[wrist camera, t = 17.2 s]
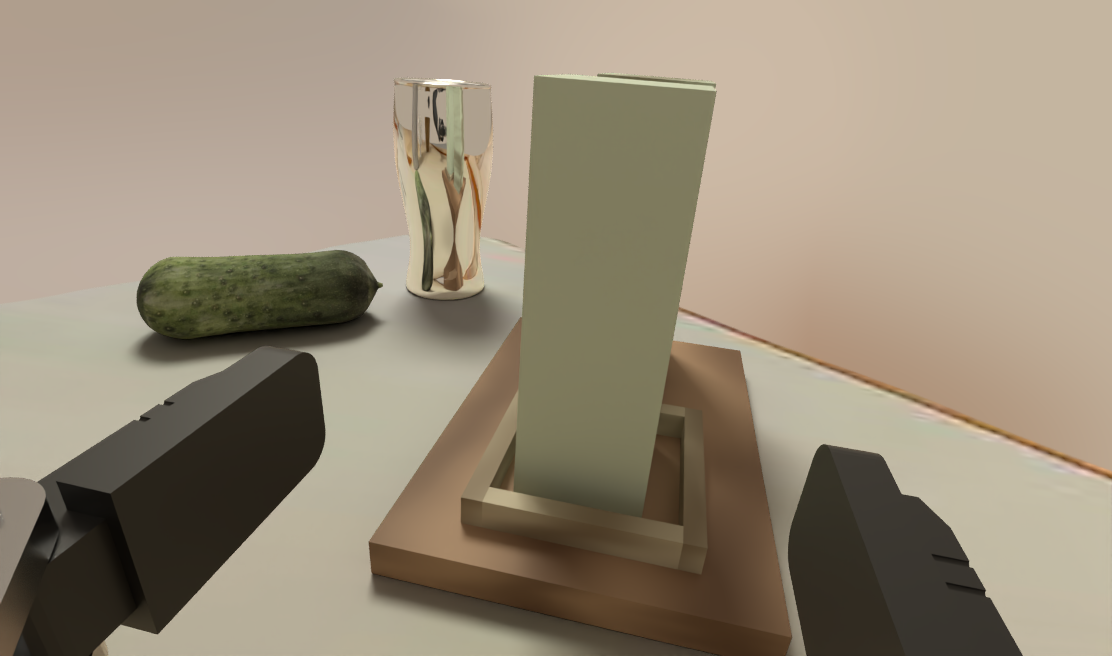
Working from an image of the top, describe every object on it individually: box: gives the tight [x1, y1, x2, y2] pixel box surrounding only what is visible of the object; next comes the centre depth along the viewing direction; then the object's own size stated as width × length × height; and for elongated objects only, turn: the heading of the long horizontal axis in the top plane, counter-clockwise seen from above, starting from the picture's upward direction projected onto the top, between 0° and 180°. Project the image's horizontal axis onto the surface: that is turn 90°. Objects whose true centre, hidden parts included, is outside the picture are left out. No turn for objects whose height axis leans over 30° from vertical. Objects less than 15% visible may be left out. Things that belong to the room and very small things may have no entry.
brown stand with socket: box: [369, 73, 792, 656], centre depth 25 cm, size 14×20×16 cm
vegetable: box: [137, 250, 383, 339], centre depth 37 cm, size 14×5×5 cm, turn 113°
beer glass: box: [393, 78, 493, 300], centre depth 43 cm, size 7×7×15 cm
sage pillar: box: [513, 74, 716, 518], centre depth 21 cm, size 5×5×15 cm
